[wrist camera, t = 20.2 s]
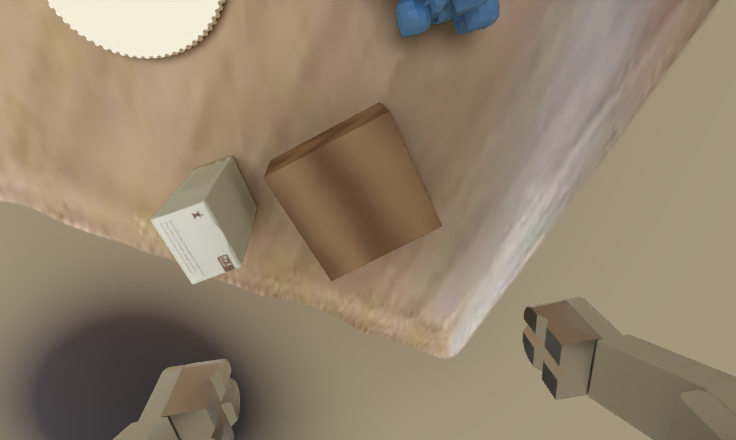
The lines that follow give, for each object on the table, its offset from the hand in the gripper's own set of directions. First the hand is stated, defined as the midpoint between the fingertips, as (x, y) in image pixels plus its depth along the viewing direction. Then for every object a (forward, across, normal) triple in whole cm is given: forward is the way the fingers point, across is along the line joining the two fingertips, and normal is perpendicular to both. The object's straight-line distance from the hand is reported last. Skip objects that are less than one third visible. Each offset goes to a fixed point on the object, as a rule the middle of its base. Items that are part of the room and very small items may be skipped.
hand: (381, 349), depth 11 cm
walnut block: (+30, -1, +6) cm, 31 cm away
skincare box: (+30, +12, +4) cm, 33 cm away
